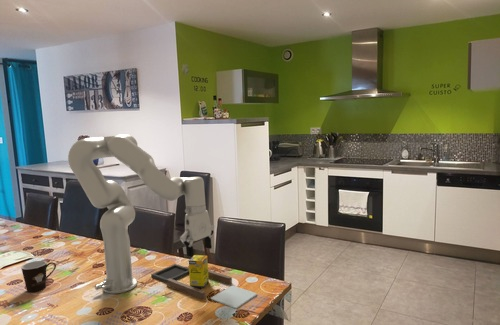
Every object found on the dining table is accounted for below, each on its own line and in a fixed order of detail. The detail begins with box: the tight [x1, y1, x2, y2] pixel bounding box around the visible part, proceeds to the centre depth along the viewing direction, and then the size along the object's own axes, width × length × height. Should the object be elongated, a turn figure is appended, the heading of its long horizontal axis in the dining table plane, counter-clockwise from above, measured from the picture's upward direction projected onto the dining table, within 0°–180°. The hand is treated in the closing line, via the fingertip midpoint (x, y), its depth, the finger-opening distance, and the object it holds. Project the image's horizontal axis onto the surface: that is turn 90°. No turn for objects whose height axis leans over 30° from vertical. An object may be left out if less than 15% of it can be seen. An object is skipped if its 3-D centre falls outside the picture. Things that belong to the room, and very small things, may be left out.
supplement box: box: [188, 254, 210, 289], centre depth 140 cm, size 6×6×11 cm
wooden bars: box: [166, 269, 233, 301], centre depth 140 cm, size 16×20×2 cm
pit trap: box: [151, 263, 189, 284], centre depth 151 cm, size 13×11×1 cm
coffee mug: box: [20, 260, 57, 294], centre depth 142 cm, size 12×9×10 cm
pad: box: [210, 284, 258, 310], centre depth 129 cm, size 12×12×1 cm
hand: (199, 251), depth 139 cm, fingers open, 9 cm apart
